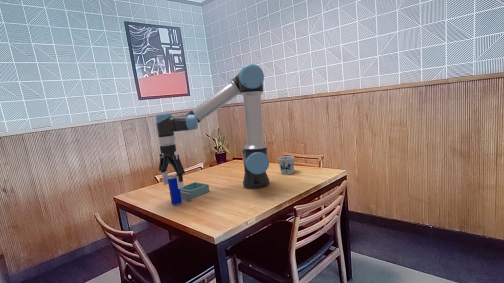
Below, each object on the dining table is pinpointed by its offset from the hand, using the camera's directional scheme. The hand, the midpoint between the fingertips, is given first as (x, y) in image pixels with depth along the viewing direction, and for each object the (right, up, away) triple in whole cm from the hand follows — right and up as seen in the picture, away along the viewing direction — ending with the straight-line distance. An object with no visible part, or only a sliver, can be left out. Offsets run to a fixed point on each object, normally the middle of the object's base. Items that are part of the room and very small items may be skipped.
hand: (173, 186), depth 140 cm
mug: (+62, +3, +38) cm, 73 cm away
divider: (+2, -8, +8) cm, 12 cm away
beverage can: (+1, -9, +1) cm, 10 cm away
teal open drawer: (+7, -7, +16) cm, 18 cm away
